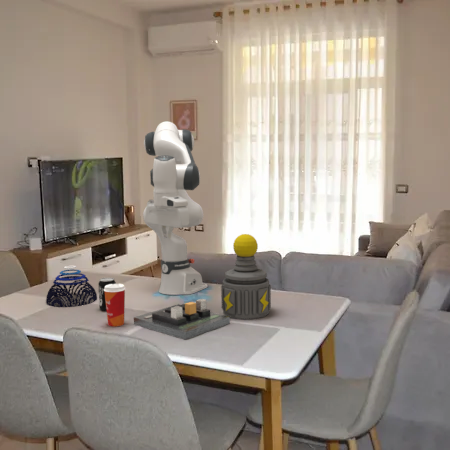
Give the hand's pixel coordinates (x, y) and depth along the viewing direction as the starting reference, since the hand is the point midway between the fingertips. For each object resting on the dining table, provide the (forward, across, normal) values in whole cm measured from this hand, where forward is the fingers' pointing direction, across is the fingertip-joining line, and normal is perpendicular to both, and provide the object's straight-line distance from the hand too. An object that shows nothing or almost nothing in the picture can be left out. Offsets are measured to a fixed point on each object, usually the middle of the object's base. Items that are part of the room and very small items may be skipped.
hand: (166, 237), depth 207 cm
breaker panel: (+29, +12, -5) cm, 32 cm away
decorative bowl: (+29, -47, -12) cm, 56 cm away
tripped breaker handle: (+24, +17, -5) cm, 30 cm away
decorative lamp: (+29, +21, +20) cm, 41 cm away
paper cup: (+29, -6, -20) cm, 36 cm away
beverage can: (+29, -24, -10) cm, 39 cm away
